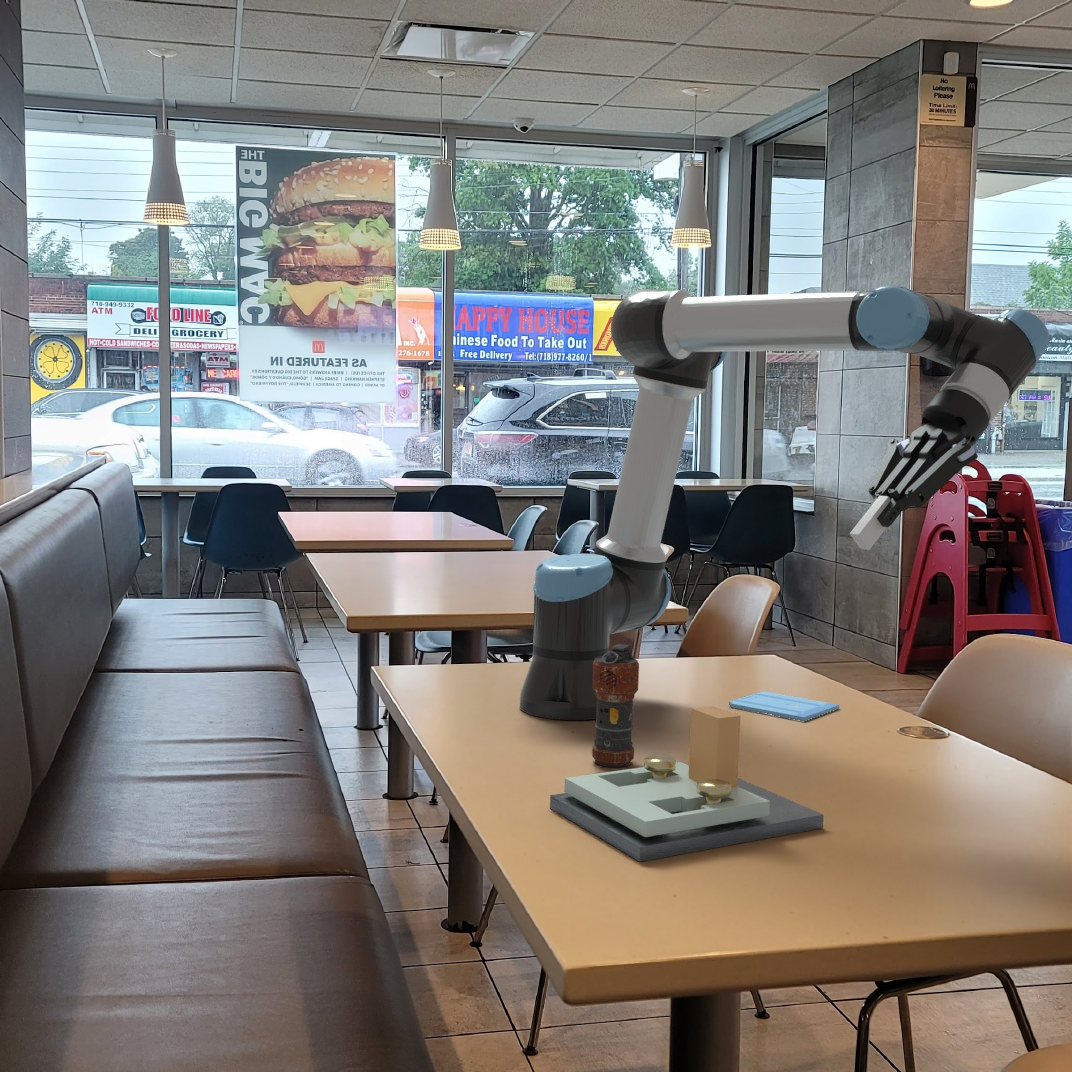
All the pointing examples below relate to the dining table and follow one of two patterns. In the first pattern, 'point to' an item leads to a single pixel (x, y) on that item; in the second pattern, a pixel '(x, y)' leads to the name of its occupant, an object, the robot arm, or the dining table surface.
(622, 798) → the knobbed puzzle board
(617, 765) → the grenade
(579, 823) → the mounting plate
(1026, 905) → the dining table surface
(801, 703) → the light blue flat panel
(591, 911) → the dining table surface
